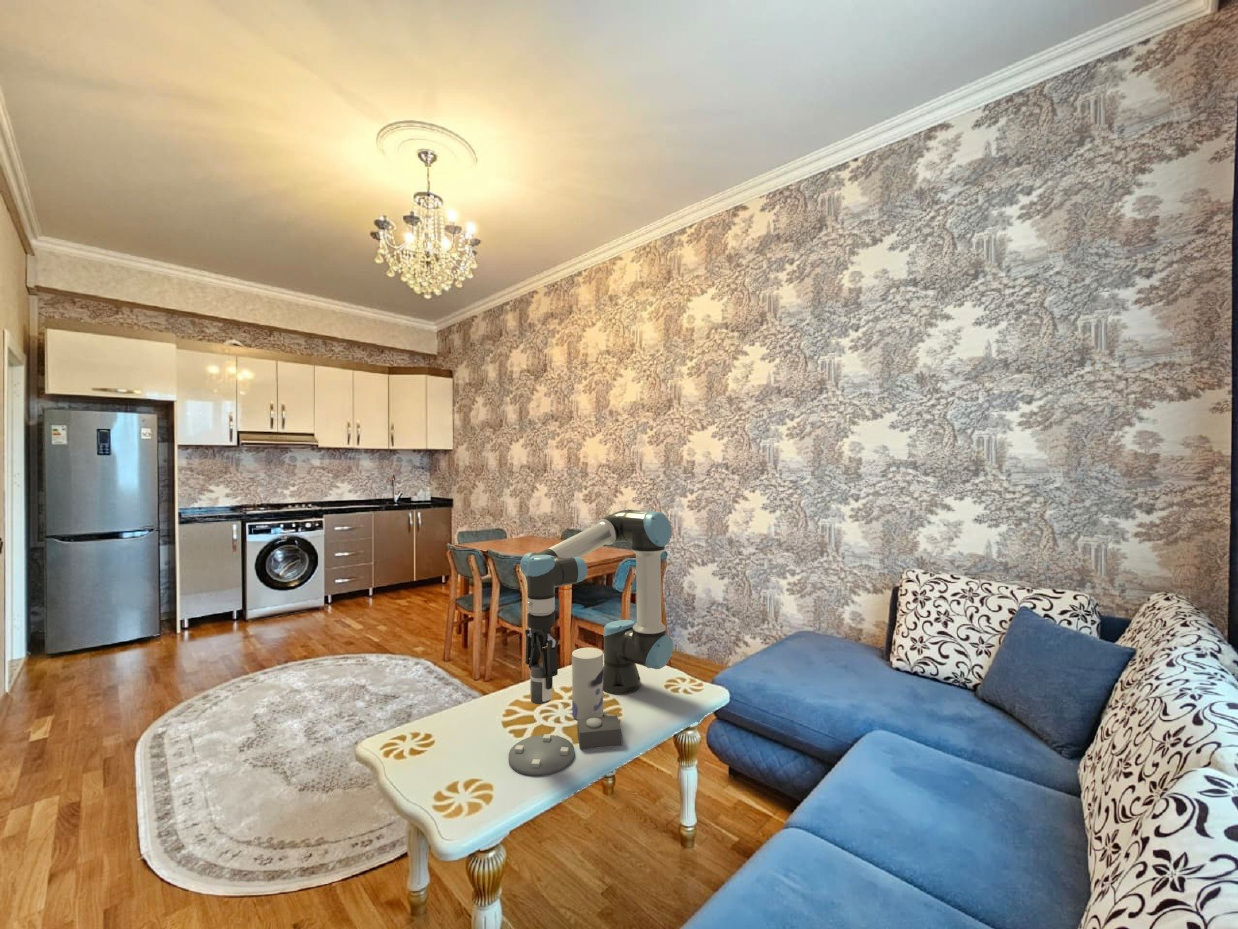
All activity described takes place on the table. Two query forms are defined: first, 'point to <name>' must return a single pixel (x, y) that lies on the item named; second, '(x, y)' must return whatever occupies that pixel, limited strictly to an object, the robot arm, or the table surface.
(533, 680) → the grey rounded cylinder
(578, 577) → the robot arm
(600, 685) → the container
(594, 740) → the camera body block
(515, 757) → the plate
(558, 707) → the table surface
